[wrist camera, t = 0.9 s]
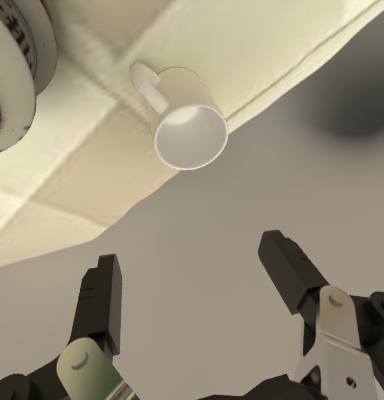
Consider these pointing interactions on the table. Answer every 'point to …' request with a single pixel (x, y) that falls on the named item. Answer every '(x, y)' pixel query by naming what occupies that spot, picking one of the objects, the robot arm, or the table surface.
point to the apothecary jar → (23, 64)
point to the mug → (181, 116)
